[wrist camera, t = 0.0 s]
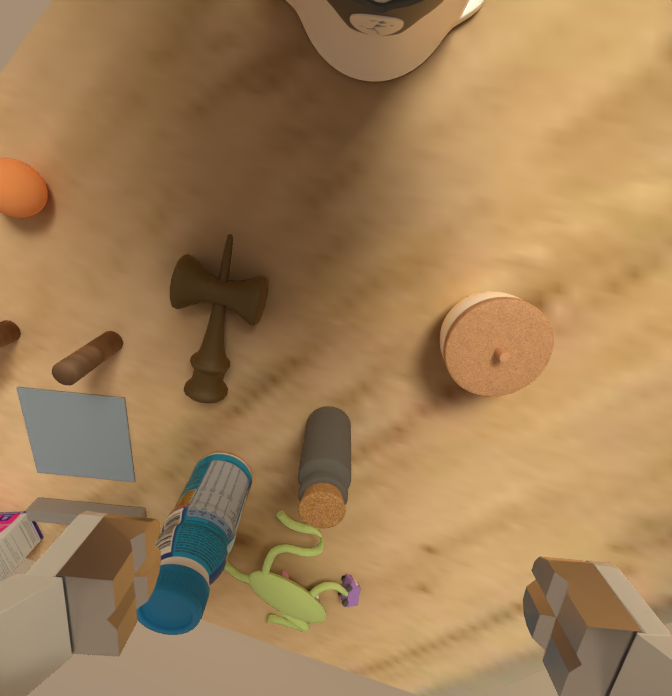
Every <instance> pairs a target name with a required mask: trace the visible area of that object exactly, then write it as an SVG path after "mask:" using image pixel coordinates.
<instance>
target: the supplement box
mask: <svg viewBox="0 0 672 696" xmlns="http://www.w3.org/2000/svg"><path fill="white" fill-rule="evenodd" d="M42 539H43V535H42V533H41V531H40V529H39V528H38V526H37V524H36V522H35V521H28V517H27V514H26V511H24V512H8V513H0V582H1V581H3V580H4V579H6V578H8V577H9V576H10V574H11V573H12V572H13V571H14V570H15V569H16V568H17V567H18V566H19V564H20V563H21V562H22V561H23V560H24V559H25V558H26V556H27V555H28V554H29V553H30V552H31V551H32V550H33V549H34V547H35V546H36V545H37V544H38V543H39V542H40V541H41V540H42Z"/></svg>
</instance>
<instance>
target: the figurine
mask: <svg viewBox="0 0 672 696" xmlns="http://www.w3.org/2000/svg"><path fill="white" fill-rule="evenodd" d="M276 517H277V518H278V519H279V520H280V521H281V522H282V523H283V524H284V525H285V526H287V527H288V528H290V529H292V530H294V531H297V532H300V533H306V534H313V535H317V536H318V537H320V543H319V544H318V545H317V546H316V547H313V548H303V547H298V546H294V545H290V544H281V545H277V546H275V547H272V549H271V550H270V551H269V552H268V554H267V556H266V558H265V561H264V564H263V567H262V571H260V570H256V571H254V572H252V573H250V574H249V575H248V574H245V573H243V572H241V571H240V570H238V569H237V568H235V567H234V566H233V565H232V564H231V563H230V562H229V561H228V560H227V564H226V566H225V568H224V569H225V570H226V571H227V572H228V573H230V574H231V575H232V576H233V577H235V578H236V579H238V580H240V581H242V582H244V583H248V584H250V586H251V587H252V588H253V590H254V591H255V592H256V594H257V595H258V596H259V597H261V598H262V599H263V600H264V601H265V602H266V603H267V604H269V605H270V606H272V607H273V608H275V609H277V610H278V611H279V612H280V613H281V614H282V615H283V616H284V617H285V618H287V619H285V618H282V617H279V616H277V615H273V614H270V615H268V617H267V619H266V623H267V622H273V623H277V624H281V625H284V626H286V627H289V628H292V629H296V630H298V631H301V632H308V631H309V629H310V626H309V624H308V623H321V622H323V621H324V620H325V619H326V611H325V609H324V608H323V606H322V605H321V603H320V601H319V600H318V599H319V595H318V594H319V593H321V592H324V591H326V590H336V591H338V595H339V596H340V599H341V600H342V604H343V606H344V607H350V606H357V605H358V599H359V593H360V586H359V584H358V583H357V582H356V580H354V579H353V578H352V576H351V575H348V574H346V575H344V576H342V578H341V579H342V581H343V586H341V585H339V584H338V583H336V582H324V583H321V584H319V585H317V586H315V587H313V588H312V589H311V590H310V591H308V590H306V589H305V587H304V586H301V585H299V584H298V583H296V582H294V581H292V580H290V579H289V577H288V574H287V572H286V571H284V570H283V571H282V572H281V573H282V576H281V575H278V574H275V573H272V572H270V568H271V565H272V562H273V560H274V558H275V557H276V555H277V554H280V553H285V552H289V553H292V554H296V555H299V556H304V557H313V556H317V555H319V554H320V553H321V552H323V549H324V544H323V539H322V536H321V533H320V530H319V529H317V528H316V527H313V526H310V525H308V524H302V523H299V522H296V521H294V520H292V519H291V518H290V517H289V516H287V515H286V513H285V512H284V511H283V510H280V511H279V512H278V513H277V514H276ZM228 556H229V554H228ZM307 622H308V623H307Z"/></svg>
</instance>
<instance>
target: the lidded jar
mask: <svg viewBox="0 0 672 696" xmlns="http://www.w3.org/2000/svg"><path fill="white" fill-rule="evenodd" d="M440 348H441V353H442V356H443V359H444V362H445V365H446V368H447V370H448V372H449V374H450V376H451V377H452V379H453V380H454V381H455V382H456V383H457V384H458V385H459V386H460V387H461V388H463V389H465V390H466V391H468V392H471V393H473V394H476V395H480V396H488V397H492V396H502V395H507V394H510V393H514V392H516V391H518V390H520V389H522V388H524V387H526V386H527V385H529V384H530V383H531V382H533V381H534V380H535V379H536V378H537V377H538V376H539V375H540V374H541V373H542V371H543V370H544V368H545V367H546V365H547V363H548V361H549V359H550V357H551V354H552V350H553V332H552V328H551V326H550V323H549V321H548V320H547V318H546V317H545V315H544V314H543V313H542V312H541V311H540V310H539V309H537V308H536V307H535V306H533V305H532V304H530V303H528V302H526V301H524V300H522V299H520V298H518V297H516V296H514V295H511V294H507V293H504V292H496V291H484V292H479V293H475V294H473V295H470V296H468V297H466V298H464V299H462V300H461V301H459V302H458V303H457V304H456V305H455V306H454V307H453V308H452V309H451V310H450V311H449V313H448V314H447V316H446V317H445V319H444V321H443V324H442V327H441V331H440Z"/></svg>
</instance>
